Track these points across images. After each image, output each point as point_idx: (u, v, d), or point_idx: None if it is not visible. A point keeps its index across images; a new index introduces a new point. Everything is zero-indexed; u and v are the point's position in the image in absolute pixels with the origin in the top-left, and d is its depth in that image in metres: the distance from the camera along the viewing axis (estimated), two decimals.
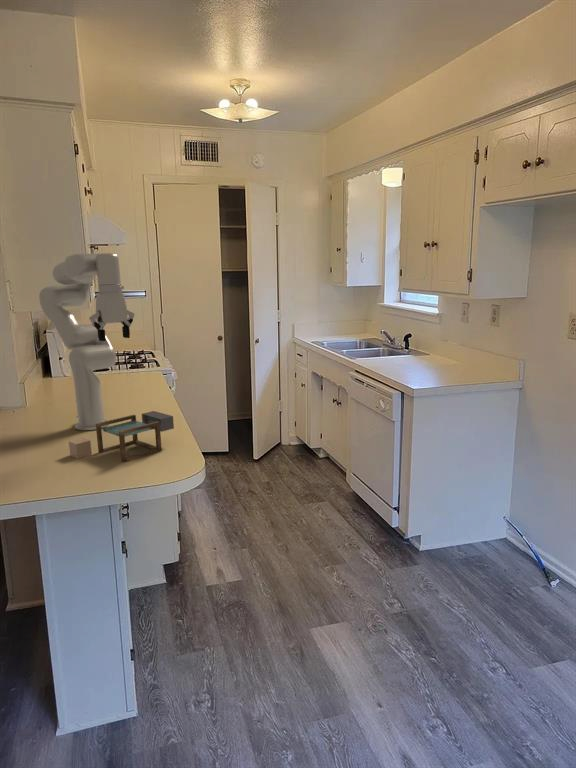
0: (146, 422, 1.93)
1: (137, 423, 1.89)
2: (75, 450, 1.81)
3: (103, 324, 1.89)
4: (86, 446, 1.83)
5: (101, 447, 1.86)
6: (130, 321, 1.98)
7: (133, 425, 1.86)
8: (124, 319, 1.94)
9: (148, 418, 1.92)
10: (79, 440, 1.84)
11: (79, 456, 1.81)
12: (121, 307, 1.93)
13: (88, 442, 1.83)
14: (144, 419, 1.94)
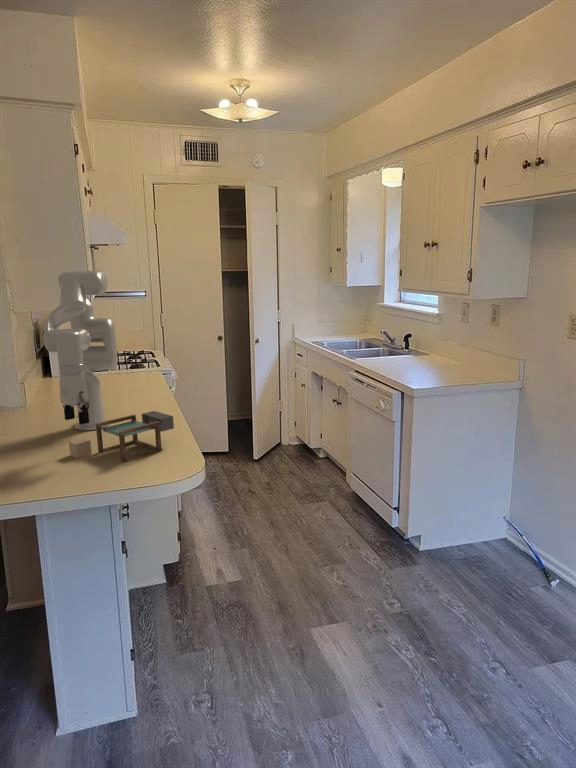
0: (146, 422, 1.93)
1: (137, 423, 1.89)
2: (75, 450, 1.81)
3: None
4: (86, 446, 1.83)
5: (101, 447, 1.86)
6: None
7: (133, 425, 1.86)
8: None
9: (148, 418, 1.92)
10: (79, 440, 1.84)
11: (79, 456, 1.81)
12: None
13: (88, 442, 1.83)
14: (144, 419, 1.94)
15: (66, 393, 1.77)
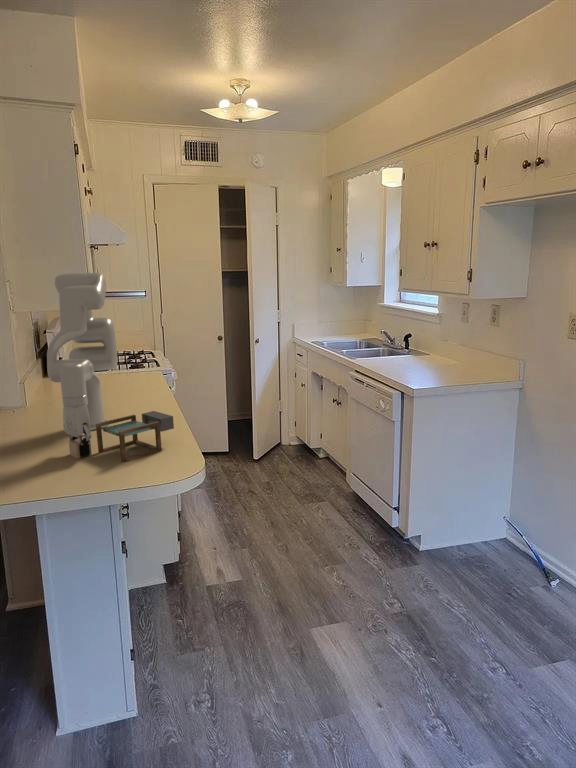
0: (146, 422, 1.93)
1: (137, 423, 1.89)
2: (75, 450, 1.81)
3: None
4: None
5: (101, 447, 1.86)
6: None
7: (133, 425, 1.86)
8: None
9: (148, 418, 1.92)
10: None
11: (79, 456, 1.81)
12: None
13: None
14: (144, 419, 1.94)
15: (70, 424, 1.80)
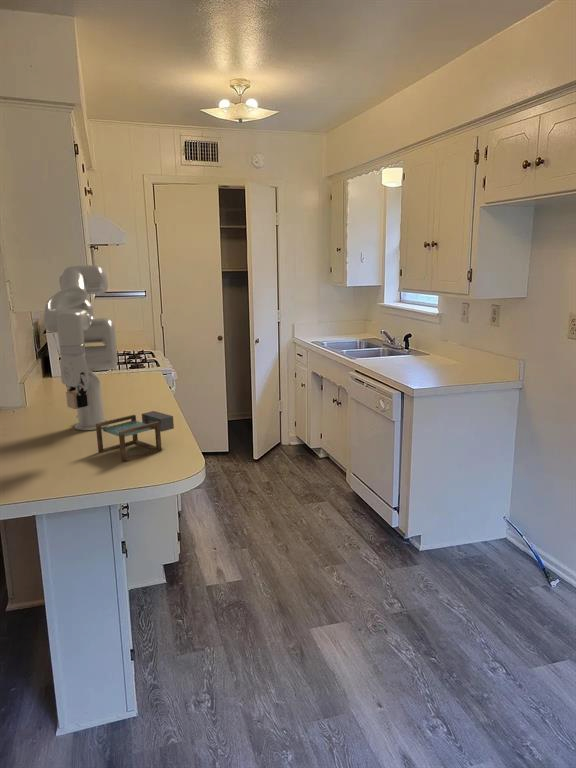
0: (146, 422, 1.93)
1: (137, 423, 1.89)
2: (72, 400, 1.78)
3: None
4: None
5: (101, 447, 1.86)
6: None
7: (133, 425, 1.86)
8: None
9: (148, 418, 1.92)
10: (76, 391, 1.80)
11: (76, 407, 1.78)
12: None
13: None
14: (144, 419, 1.94)
15: (67, 374, 1.76)
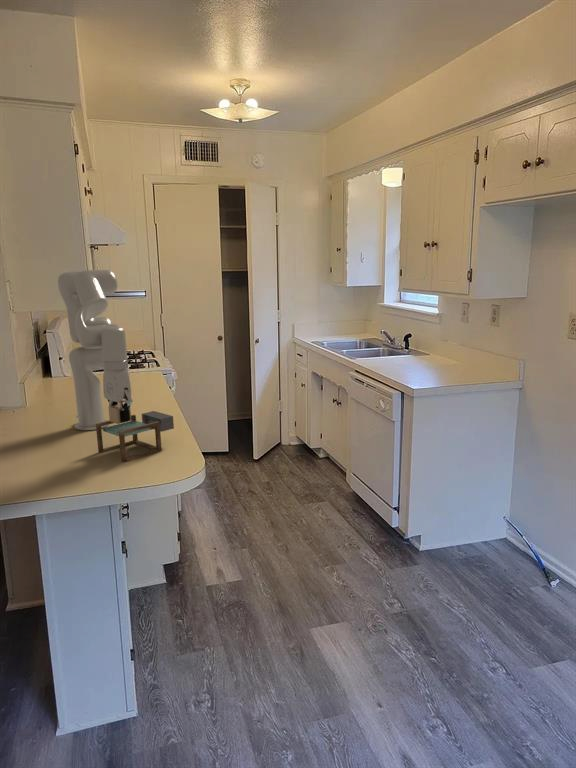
0: (146, 422, 1.93)
1: (137, 423, 1.89)
2: (115, 415, 1.79)
3: None
4: None
5: (101, 447, 1.86)
6: None
7: (133, 425, 1.86)
8: None
9: (148, 418, 1.92)
10: (119, 406, 1.82)
11: (119, 421, 1.80)
12: None
13: None
14: (144, 419, 1.94)
15: (110, 389, 1.78)
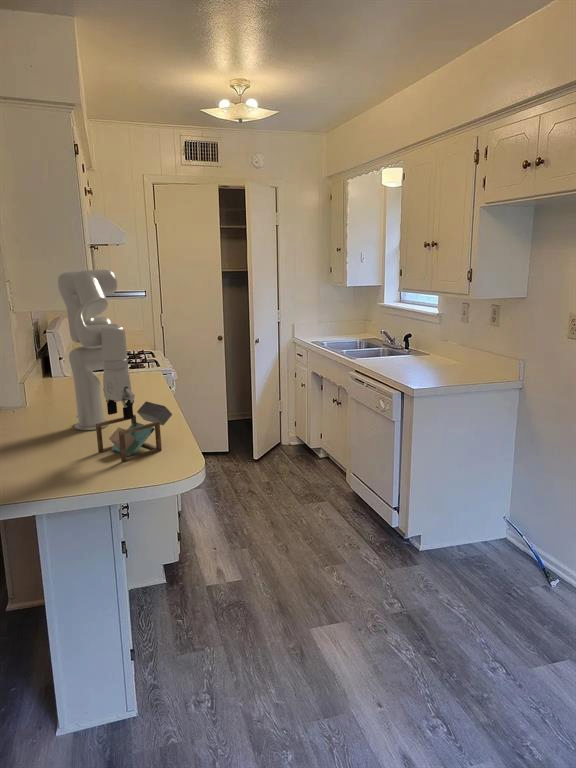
0: (145, 418, 1.93)
1: None
2: (119, 445, 1.82)
3: None
4: (126, 436, 1.82)
5: (101, 447, 1.86)
6: None
7: (135, 432, 1.87)
8: None
9: (145, 415, 1.91)
10: (117, 433, 1.83)
11: (126, 448, 1.83)
12: None
13: None
14: (142, 415, 1.93)
15: (110, 388, 1.78)
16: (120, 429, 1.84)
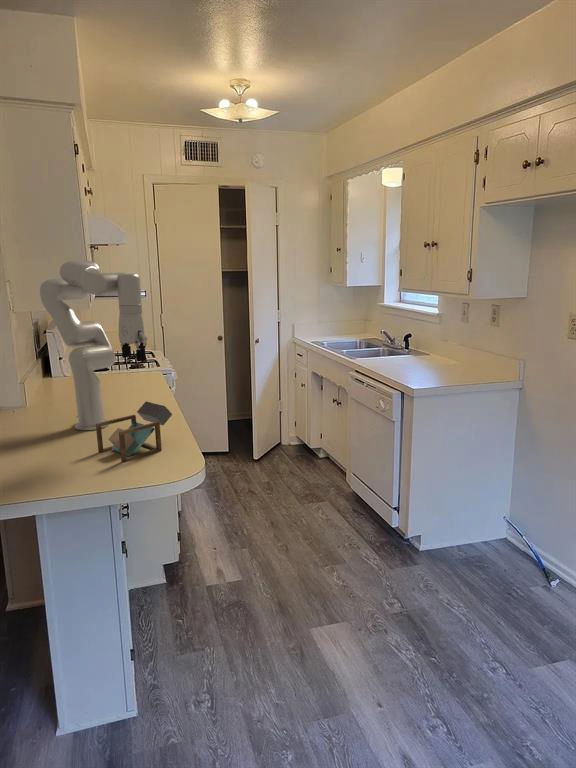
0: (145, 418, 1.93)
1: None
2: (119, 446, 1.81)
3: None
4: (126, 437, 1.82)
5: (101, 447, 1.86)
6: None
7: (135, 432, 1.87)
8: None
9: (145, 415, 1.91)
10: (116, 434, 1.83)
11: None
12: None
13: None
14: (142, 415, 1.93)
15: (125, 332, 1.90)
16: (119, 430, 1.84)
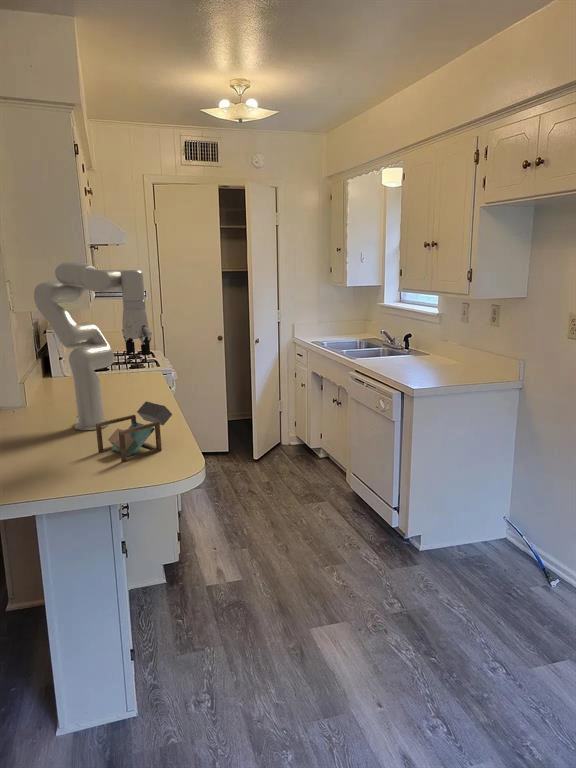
0: (145, 418, 1.93)
1: None
2: (118, 446, 1.81)
3: None
4: (125, 437, 1.82)
5: (101, 447, 1.86)
6: None
7: (135, 432, 1.87)
8: None
9: (145, 415, 1.91)
10: (116, 434, 1.83)
11: None
12: None
13: None
14: (142, 416, 1.93)
15: (129, 327, 1.94)
16: (119, 430, 1.83)
